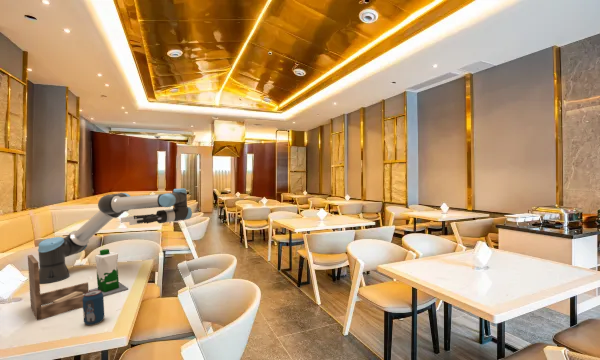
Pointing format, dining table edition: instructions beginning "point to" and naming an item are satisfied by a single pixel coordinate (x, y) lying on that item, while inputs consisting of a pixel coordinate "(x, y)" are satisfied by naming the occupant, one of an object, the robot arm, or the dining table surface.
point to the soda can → (93, 307)
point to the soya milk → (107, 270)
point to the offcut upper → (69, 296)
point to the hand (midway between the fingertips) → (125, 221)
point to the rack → (51, 295)
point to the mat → (120, 289)
